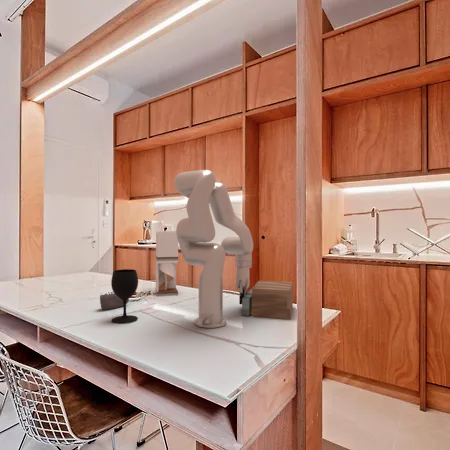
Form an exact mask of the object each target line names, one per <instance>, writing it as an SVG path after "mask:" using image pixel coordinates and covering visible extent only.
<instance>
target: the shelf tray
mask: <svg viewBox="0 0 450 450" xmlns="http://www.w3.org/2000/svg"><path fill="white" fill-rule="evenodd" d="M241 305H242V307H241V315H242V316H246V317H247V316H250V315H251V316H252V289H249V291H247V294H246V295H245V296H244V297H243V298H242V304H241Z"/></svg>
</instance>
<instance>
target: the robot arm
mask: <svg viewBox="0 0 450 450" xmlns="http://www.w3.org/2000/svg"><path fill="white" fill-rule="evenodd" d="M173 181H174V187H175V189H176V191H177V192H178V193H179V194H181V195H182V196H183V197H186V198H188V200H187V202H186V213H187V217H185V218H182V219H180V220H179V221H178V223H177V225H176V229H175V231H176V235H177V239H178V246H179V248H180V251H181V254H182V257H183V260H184V261H185V262H186V264H187V265H190V266H195V267H202V270H201V272H200V273H199V275H198V317H196V318H195V319H194V325H195V326H197V327H200V328H203V329H204V328H205V329H215V328H221V327H223V326H225V325H227V319H226V318H225V317H223V316H224V315H223V312H224V309H223V307H224V306H223V303H224V302H223V299H224V298H223V297H224V293H223V292H224V291H223V290H224V288H223V287H224V284H223V283H224V280H223V279H224V266H225V261H226V254H227V255H235V256H234V258H235V262H234V268H236V271H235V285H234V286H235V290H239V292H238V293H239V296H238V297H239V305H242V298H243V297H244V296H245V295H246V294H247V293H248V288H250V280H251V279H250V274H251V273H250V269H251V268H253V267H252V264H253V262H252V261H253V260H252V258H253V257H252V252H253V250H254V240H253V237H252V233H251V231H250V228H249V227H248V226H247V225H246V223H245V222H244V221H243V220H241V218H240V217H238V216H237V215H236V214H235V211H234V208H233V205H232V202H231V199H230V198H231V197H230V195H229V193H228V192H229V191H228V189H227V186H226V184H225V183H223V182H218V181H216V175H215V173H214V172H213V171H212V170H210V169H200V170H190V171H184V172H180V173H178V174H177V175H176V176H175V178H174V180H173ZM210 208H211V209H210ZM211 211H212V213H211ZM212 214H213V217H214V220H215V222H216V223H217V224H219V225H221V226H223V227H225V228H228V229H229V230H230V231H232V232H234V233H235V234H236V235H237V236H238V237H237V236H229V237H228V236H227V237H225V238H223V239H222V241H221V243H220V244H219V243H214V242H212V241H213V240H214V239H215V236H216V228H215V224H214V221H213V217H212Z"/></svg>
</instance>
